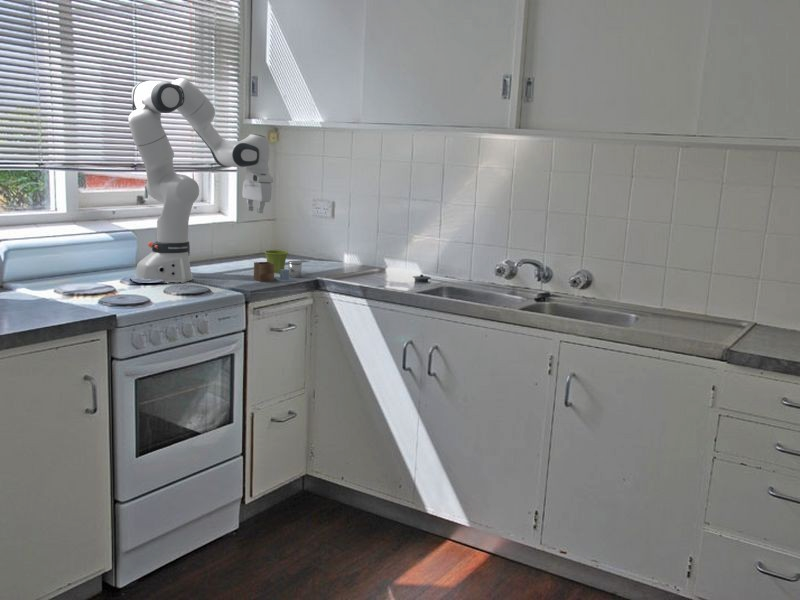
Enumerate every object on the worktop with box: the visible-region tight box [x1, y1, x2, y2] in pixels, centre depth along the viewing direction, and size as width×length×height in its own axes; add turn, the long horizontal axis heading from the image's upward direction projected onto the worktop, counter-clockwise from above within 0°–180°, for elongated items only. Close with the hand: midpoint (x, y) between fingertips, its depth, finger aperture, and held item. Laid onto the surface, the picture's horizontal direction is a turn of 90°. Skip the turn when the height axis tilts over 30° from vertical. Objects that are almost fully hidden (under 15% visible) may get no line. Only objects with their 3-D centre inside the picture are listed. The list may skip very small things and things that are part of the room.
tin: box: [288, 260, 303, 279], centre depth 328 cm, size 5×5×6 cm
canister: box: [253, 261, 275, 283], centre depth 317 cm, size 6×6×7 cm
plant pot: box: [263, 249, 289, 274], centre depth 337 cm, size 9×9×9 cm
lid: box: [274, 268, 297, 283], centre depth 319 cm, size 7×7×5 cm
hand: (255, 211), depth 334 cm, fingers open, 8 cm apart
